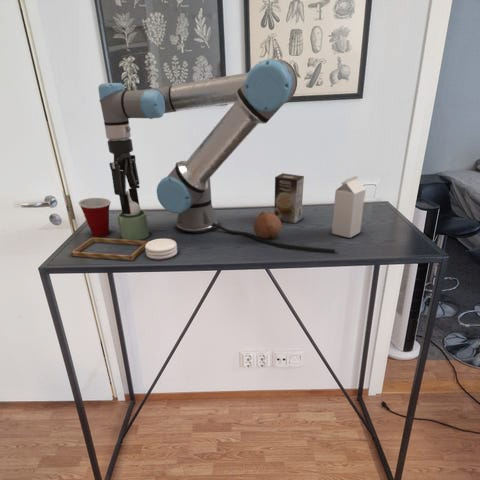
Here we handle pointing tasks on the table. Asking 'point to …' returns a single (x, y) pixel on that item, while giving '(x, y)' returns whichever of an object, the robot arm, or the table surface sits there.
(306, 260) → the table surface
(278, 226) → the onion
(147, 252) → the coaster
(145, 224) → the cup
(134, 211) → the garlic bulb
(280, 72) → the robot arm
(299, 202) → the coffee box
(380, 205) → the table surface
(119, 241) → the frame
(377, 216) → the table surface
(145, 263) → the table surface
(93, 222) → the plastic cup
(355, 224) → the milk carton
